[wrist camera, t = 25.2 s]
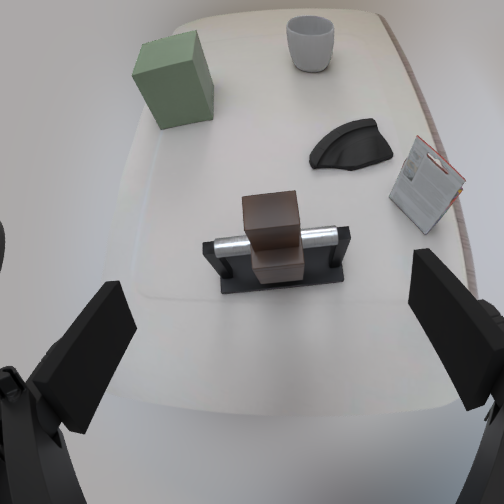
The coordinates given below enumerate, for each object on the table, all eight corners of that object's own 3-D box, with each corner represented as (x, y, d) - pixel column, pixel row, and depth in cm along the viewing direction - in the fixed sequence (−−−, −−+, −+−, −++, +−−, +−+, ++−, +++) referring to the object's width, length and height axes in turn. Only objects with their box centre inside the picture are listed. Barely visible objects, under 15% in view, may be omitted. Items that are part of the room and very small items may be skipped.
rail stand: (222, 294, 42) (198, 269, 32) (220, 258, 44) (198, 224, 34) (343, 281, 41) (358, 252, 31) (337, 246, 43) (349, 207, 32)
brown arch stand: (260, 284, 38) (241, 252, 25) (256, 233, 40) (236, 178, 27) (302, 279, 38) (306, 245, 24) (296, 228, 40) (296, 171, 26)
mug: (335, 76, 54) (337, 36, 45) (290, 76, 55) (287, 36, 46) (327, 44, 59) (327, 7, 49) (287, 44, 60) (284, 8, 51)
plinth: (160, 129, 55) (131, 75, 42) (166, 95, 58) (142, 44, 45) (213, 119, 54) (192, 59, 41) (213, 85, 57) (196, 29, 44)
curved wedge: (298, 141, 50) (297, 134, 48) (370, 123, 49) (372, 116, 48) (317, 181, 46) (318, 175, 45) (394, 159, 46) (396, 153, 45)
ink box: (401, 185, 44) (430, 121, 31) (438, 222, 42) (480, 167, 28) (387, 198, 44) (414, 134, 30) (424, 236, 41) (466, 183, 28)
